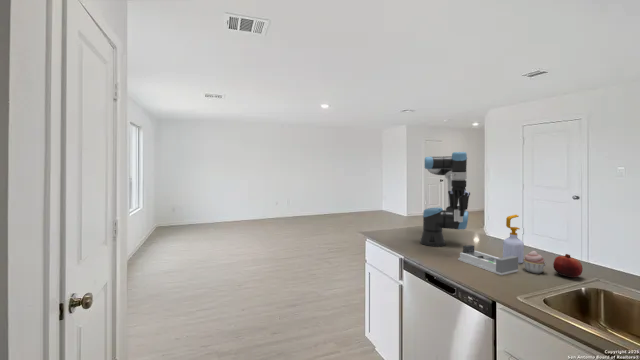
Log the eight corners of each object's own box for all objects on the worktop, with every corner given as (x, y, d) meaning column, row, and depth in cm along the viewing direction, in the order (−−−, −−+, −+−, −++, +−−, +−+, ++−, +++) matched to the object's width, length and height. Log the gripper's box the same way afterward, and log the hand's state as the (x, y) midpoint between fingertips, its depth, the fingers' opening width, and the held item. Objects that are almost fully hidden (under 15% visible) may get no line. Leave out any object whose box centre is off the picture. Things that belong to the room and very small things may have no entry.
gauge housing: (458, 259, 156) (458, 247, 156) (474, 257, 161) (474, 244, 160) (501, 275, 134) (501, 260, 134) (518, 271, 139) (518, 256, 138)
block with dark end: (458, 257, 156) (459, 246, 155) (471, 255, 159) (471, 244, 159) (480, 265, 144) (480, 253, 143) (493, 262, 147) (493, 251, 147)
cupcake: (551, 274, 135) (552, 253, 134) (534, 275, 133) (534, 254, 133) (533, 267, 144) (534, 247, 143) (517, 268, 142) (517, 248, 142)
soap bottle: (526, 264, 148) (528, 216, 147) (507, 263, 150) (508, 216, 149) (518, 258, 157) (519, 213, 156) (500, 257, 159) (500, 213, 158)
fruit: (547, 272, 138) (547, 251, 137) (568, 272, 137) (569, 251, 137) (565, 280, 127) (566, 258, 126) (588, 280, 127) (589, 258, 126)
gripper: (443, 179, 167) (442, 219, 168) (465, 180, 153) (465, 224, 154) (452, 179, 170) (452, 218, 171) (475, 180, 156) (475, 223, 157)
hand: (458, 221), depth 163 cm, fingers open, 2 cm apart
